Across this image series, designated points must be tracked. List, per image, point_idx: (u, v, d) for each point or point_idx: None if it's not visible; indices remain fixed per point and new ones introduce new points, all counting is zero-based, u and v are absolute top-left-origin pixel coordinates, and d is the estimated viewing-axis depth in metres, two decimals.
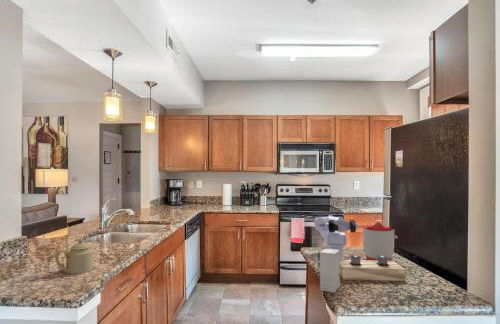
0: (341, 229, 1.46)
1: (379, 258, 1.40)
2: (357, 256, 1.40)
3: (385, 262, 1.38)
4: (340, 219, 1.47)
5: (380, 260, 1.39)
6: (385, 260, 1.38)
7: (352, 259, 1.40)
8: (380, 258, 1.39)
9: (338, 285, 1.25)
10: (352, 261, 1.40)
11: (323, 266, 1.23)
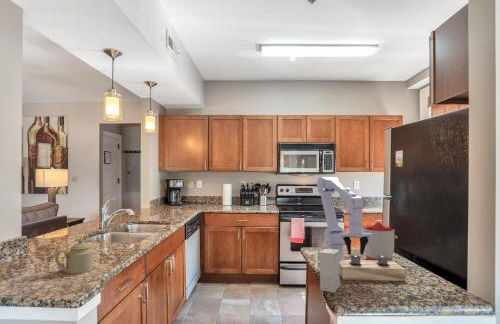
0: None
1: (379, 258, 1.40)
2: (357, 256, 1.40)
3: (385, 262, 1.38)
4: None
5: (380, 260, 1.39)
6: (385, 260, 1.38)
7: (352, 259, 1.40)
8: (380, 258, 1.39)
9: (338, 285, 1.25)
10: (352, 261, 1.40)
11: (323, 266, 1.23)
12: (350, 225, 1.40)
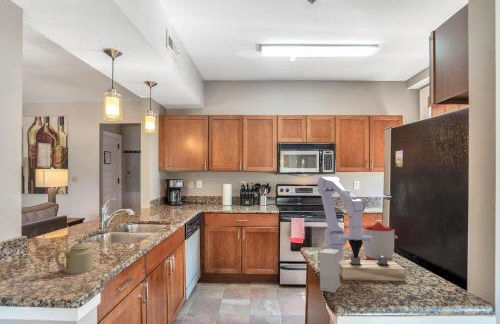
0: None
1: (379, 258, 1.40)
2: None
3: (385, 262, 1.38)
4: None
5: (380, 260, 1.39)
6: (385, 260, 1.38)
7: (352, 260, 1.40)
8: (380, 258, 1.39)
9: (338, 285, 1.25)
10: (352, 262, 1.40)
11: (323, 266, 1.23)
12: (350, 228, 1.40)
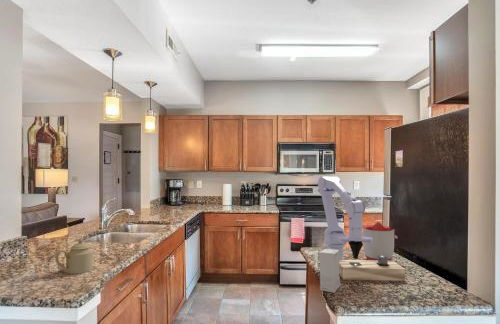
0: None
1: (379, 258, 1.40)
2: (357, 264, 1.40)
3: (385, 262, 1.38)
4: (356, 240, 1.38)
5: (380, 260, 1.39)
6: (385, 260, 1.38)
7: None
8: (380, 258, 1.39)
9: (338, 285, 1.25)
10: None
11: (323, 266, 1.23)
12: (350, 229, 1.40)
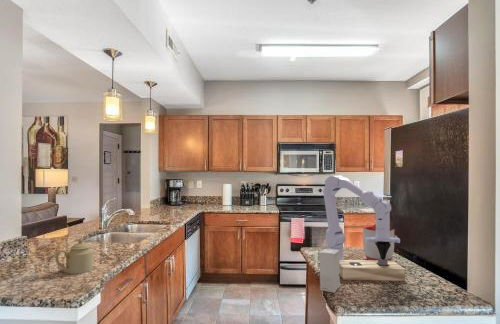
0: None
1: (379, 260, 1.40)
2: (357, 264, 1.40)
3: (385, 264, 1.38)
4: (384, 241, 1.38)
5: (380, 262, 1.39)
6: (385, 262, 1.38)
7: None
8: (380, 260, 1.39)
9: (338, 285, 1.25)
10: None
11: (323, 266, 1.23)
12: (377, 230, 1.40)
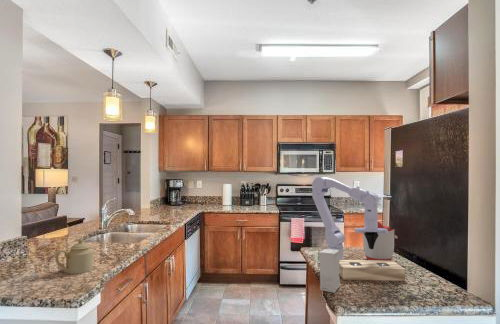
0: None
1: None
2: (357, 264, 1.40)
3: None
4: (372, 231, 1.44)
5: None
6: None
7: None
8: None
9: (338, 285, 1.25)
10: None
11: (323, 266, 1.23)
12: (366, 221, 1.46)
